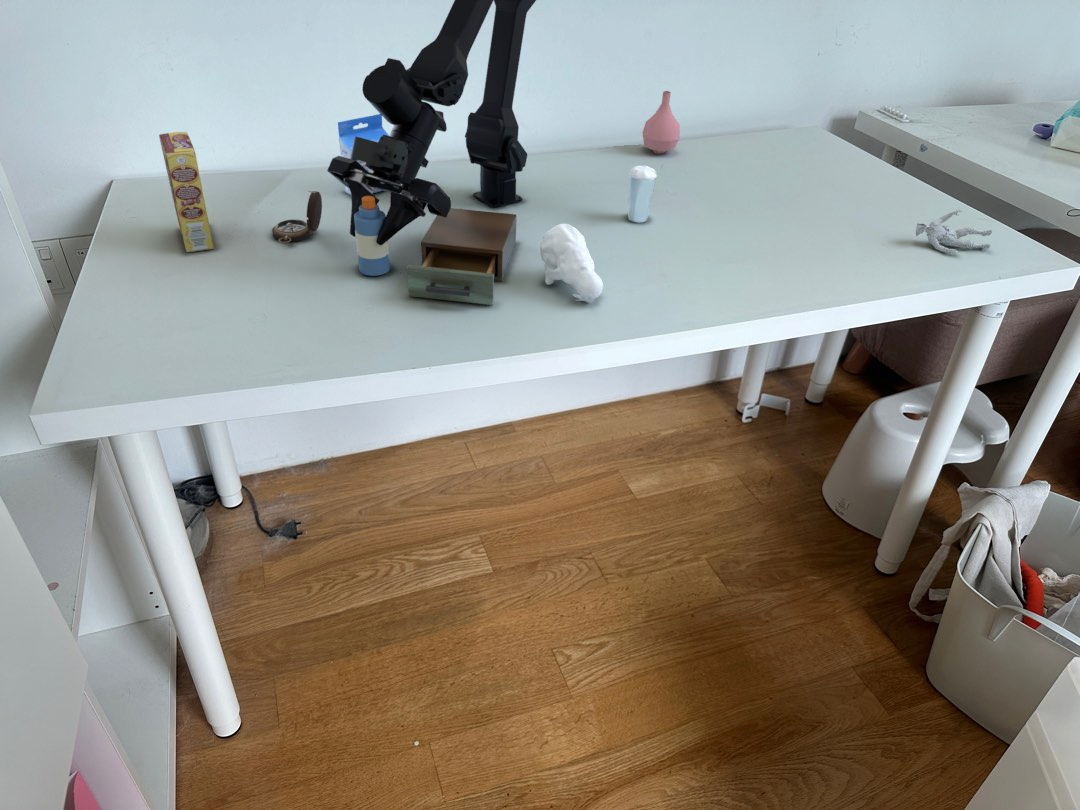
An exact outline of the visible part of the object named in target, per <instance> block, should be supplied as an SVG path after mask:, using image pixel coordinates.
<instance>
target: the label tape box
mask: <svg viewBox="0 0 1080 810" xmlns="http://www.w3.org/2000/svg"><path fill="white" fill-rule="evenodd" d="M360 124H362V125H366V124H367V126H363V127H359V128H354V127H355V126H359V125H360ZM337 129H338V131H337V132H338V133H337V134H338V144H339V145H338V146H339V152H340V156H341V157H345V158H348V159H350V157H351V152H352V147H353V142H354V136H356V137H360V138H364V139H367V140H371V141H375V142H379V139H380V137H381V136H383V135H387V136H389V135H390V134H388V132H387V131H386V130H385V129H384V127H383V116H382V115H381V114H380V113H378V114H373V115H367V116H362V117H357V118H352V119H347V120H342V121H338V122H337ZM357 162H358V163H359V164H360V165H362V166H363V167H364V168H365V169H366V170H367V171H368V172H370V173H373V170H372V169H369V168H368V167H367V166H366V165H365V164H366V162H363V161H360V160H357ZM381 183H382V184H385V183H383V182H381ZM344 191H345V193H347V194H348V195H350V196H351V192H350V189H349V188H348V187H346V186H345V185H344ZM381 192H384V191H383V190H380V189H377V188H374V192H373V194H376V193H381Z"/></svg>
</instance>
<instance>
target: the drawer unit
mask: <svg viewBox="0 0 1080 810" xmlns="http://www.w3.org/2000/svg"><path fill="white" fill-rule="evenodd" d="M516 244H517V214H515V213H507V212H505V213H504V212H496V211H485V210H475V209H465V208H455V207H451V208H450V210H449V213H448V215H447V217H446V218H445V217H441V216H438V215H436V216H435V217H434V219H433V221H432V223H431V225H430V226H429V227H428V230H427V231H426V233H425V235H424V236H423V238H422V240H421V242H420V252H421V266H422V265H423V263H424V262H425V260H426V258H427V256H428V254H429V253H430V251H431V249H432V248H442V249H451V250H461V251H471V252H481V253H490V254H498V267H497V270H496V272H495V275H494V282H503V280H504V277H505V274H506V271H507V269H508V266H509V263H510V260H511V258H512V255H513V252H514V250H515V247H516Z"/></svg>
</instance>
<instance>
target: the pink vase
mask: <svg viewBox="0 0 1080 810" xmlns="http://www.w3.org/2000/svg"><path fill="white" fill-rule="evenodd" d="M671 94H672V91H670V90H663V91H662V98H661V104H660V105H659V107H658V108H657V110H656V111H655V113H654V114H652V116H651V117H650V118H649V119H647V120H646V121H645V123H644V127H643V129H642V140H643V146H644V147H645V148H647V149H650V150H652V151H653V153H654V154H658V155H659V154H660V155H662V154H665V152H669V151H673V150H675V149H676V147H677V145H678V144H679V143H678V142H679V140H680V138H681V129H680V127H681V126H680V124H679V122H678V121H677V119H676V118H675V116H674V115H673V113H672V112H673V111H672V109H671V105H670V101H671Z"/></svg>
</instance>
